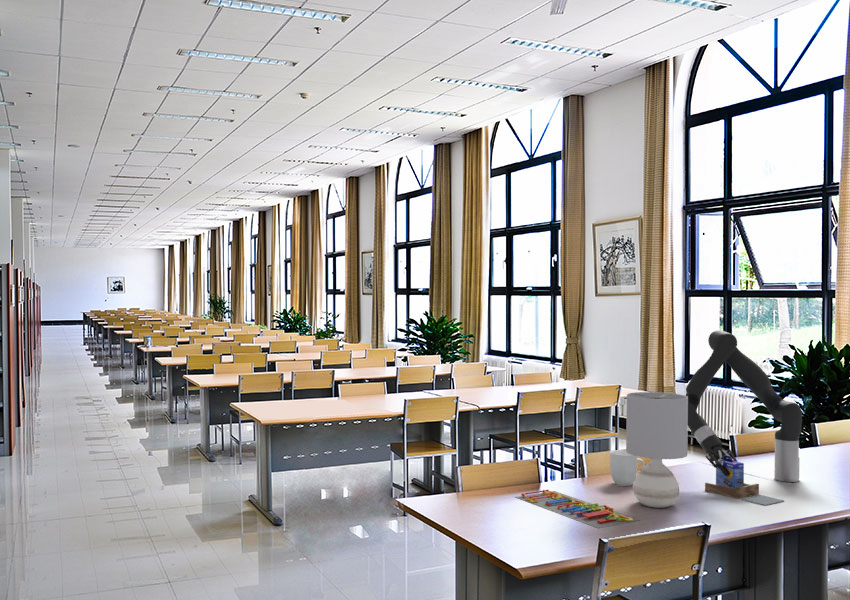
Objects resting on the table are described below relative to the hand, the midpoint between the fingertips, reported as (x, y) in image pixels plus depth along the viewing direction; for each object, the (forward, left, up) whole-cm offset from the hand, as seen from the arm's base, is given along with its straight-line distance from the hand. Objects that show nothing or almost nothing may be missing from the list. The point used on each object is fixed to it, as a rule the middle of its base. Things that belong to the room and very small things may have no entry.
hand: (733, 474), depth 302 cm
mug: (+26, -32, -8) cm, 42 cm away
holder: (0, -2, -7) cm, 8 cm away
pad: (+1, +13, -7) cm, 15 cm away
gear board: (+70, -16, -8) cm, 72 cm away
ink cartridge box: (0, -2, -8) cm, 8 cm away
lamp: (+41, -4, -8) cm, 42 cm away
